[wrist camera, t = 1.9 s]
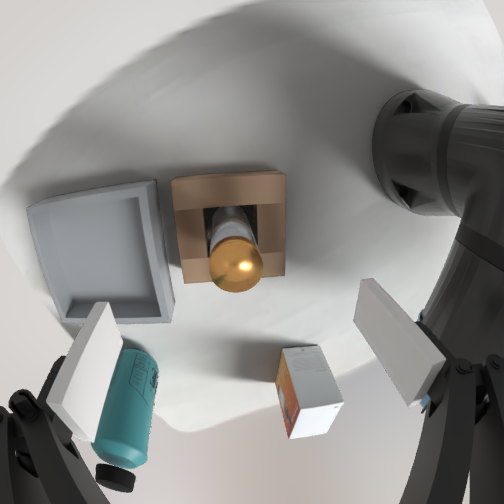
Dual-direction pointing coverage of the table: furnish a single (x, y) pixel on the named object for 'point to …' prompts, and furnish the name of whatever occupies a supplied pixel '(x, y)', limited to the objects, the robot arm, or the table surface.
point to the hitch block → (229, 194)
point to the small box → (307, 391)
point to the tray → (105, 253)
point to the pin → (234, 251)
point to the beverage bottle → (126, 420)
